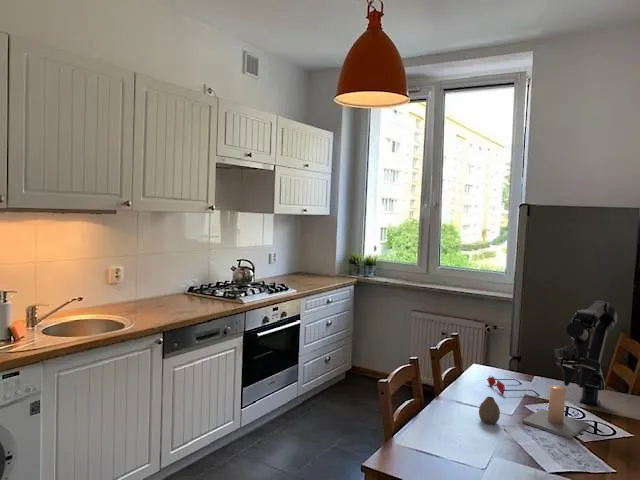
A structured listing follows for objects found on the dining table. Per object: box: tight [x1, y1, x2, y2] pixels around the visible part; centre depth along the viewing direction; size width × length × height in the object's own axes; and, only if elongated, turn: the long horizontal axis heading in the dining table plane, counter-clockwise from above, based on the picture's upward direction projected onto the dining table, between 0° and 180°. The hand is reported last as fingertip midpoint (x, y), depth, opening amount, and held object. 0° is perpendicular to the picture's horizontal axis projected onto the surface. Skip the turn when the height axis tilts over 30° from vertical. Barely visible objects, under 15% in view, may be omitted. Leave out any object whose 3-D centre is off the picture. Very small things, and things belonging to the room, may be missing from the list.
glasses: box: [486, 375, 540, 397], centre depth 211 cm, size 14×16×5 cm
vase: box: [478, 396, 501, 426], centre depth 177 cm, size 7×7×9 cm
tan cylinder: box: [547, 384, 567, 424], centre depth 177 cm, size 5×5×12 cm
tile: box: [521, 408, 589, 440], centre depth 177 cm, size 16×16×1 cm
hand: (573, 386), depth 184 cm, fingers open, 9 cm apart
